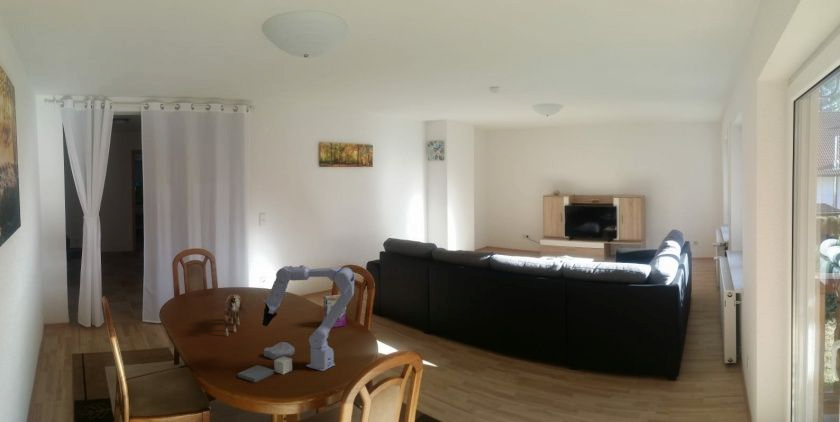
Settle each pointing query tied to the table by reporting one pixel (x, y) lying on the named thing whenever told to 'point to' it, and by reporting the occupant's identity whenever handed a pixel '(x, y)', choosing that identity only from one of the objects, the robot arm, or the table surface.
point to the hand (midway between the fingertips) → (265, 321)
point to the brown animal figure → (232, 310)
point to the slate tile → (256, 373)
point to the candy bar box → (328, 305)
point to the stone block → (279, 351)
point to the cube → (283, 365)
